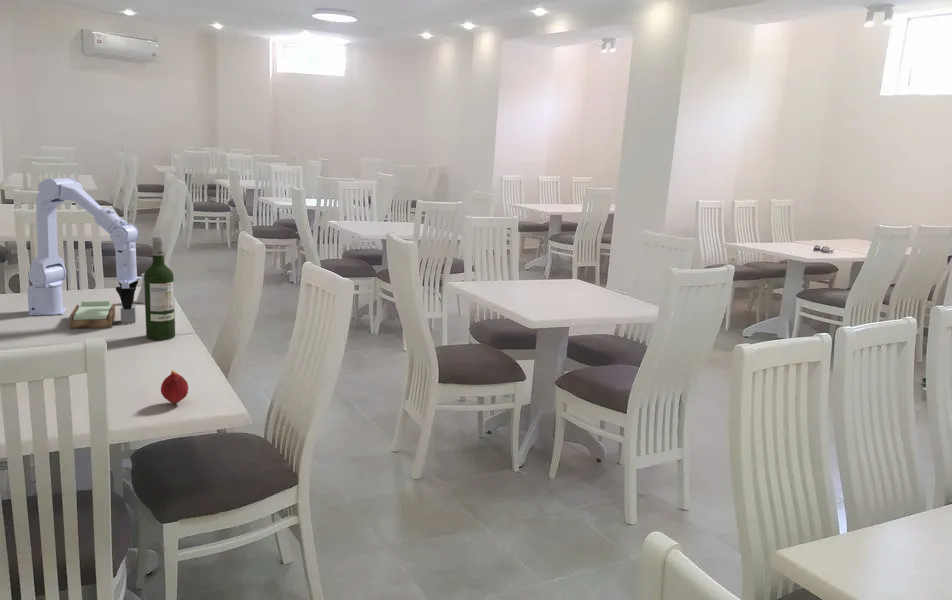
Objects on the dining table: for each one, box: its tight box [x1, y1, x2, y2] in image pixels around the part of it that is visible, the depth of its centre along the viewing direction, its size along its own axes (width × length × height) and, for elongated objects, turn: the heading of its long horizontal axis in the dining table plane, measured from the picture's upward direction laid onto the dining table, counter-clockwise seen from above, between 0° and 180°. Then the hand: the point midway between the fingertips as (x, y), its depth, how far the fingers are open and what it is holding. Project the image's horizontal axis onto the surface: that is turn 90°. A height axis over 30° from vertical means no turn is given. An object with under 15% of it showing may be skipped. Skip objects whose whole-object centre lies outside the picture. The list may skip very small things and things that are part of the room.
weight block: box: [120, 304, 137, 325], centre depth 232 cm, size 4×4×5 cm
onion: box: [160, 370, 189, 405], centre depth 168 cm, size 6×6×8 cm
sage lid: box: [73, 299, 113, 320], centre depth 229 cm, size 9×15×2 cm, turn 21°
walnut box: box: [69, 303, 116, 330], centre depth 229 cm, size 11×15×4 cm
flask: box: [136, 272, 145, 305], centre depth 257 cm, size 7×7×10 cm
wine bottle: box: [143, 235, 176, 341], centre depth 215 cm, size 8×8×30 cm
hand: (128, 306), depth 231 cm, fingers open, 7 cm apart
